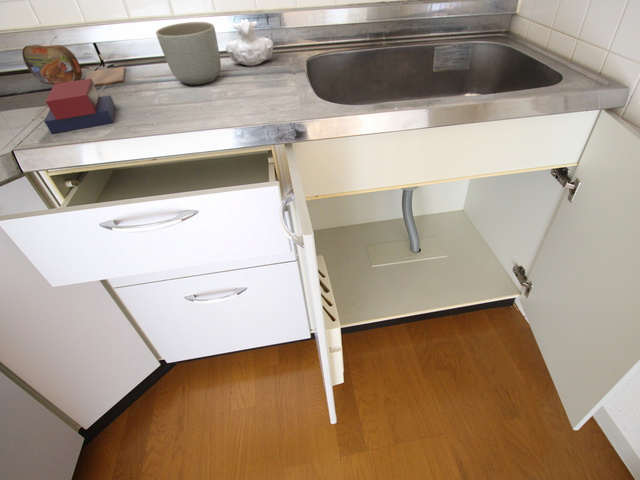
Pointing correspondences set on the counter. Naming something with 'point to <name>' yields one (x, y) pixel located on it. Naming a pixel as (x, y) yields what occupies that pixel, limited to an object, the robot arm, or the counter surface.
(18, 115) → the counter surface
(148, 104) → the counter surface
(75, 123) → the bottom book
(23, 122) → the counter surface
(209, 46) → the planter
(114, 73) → the pad
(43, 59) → the tin
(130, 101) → the counter surface
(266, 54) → the bust
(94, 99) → the top book
